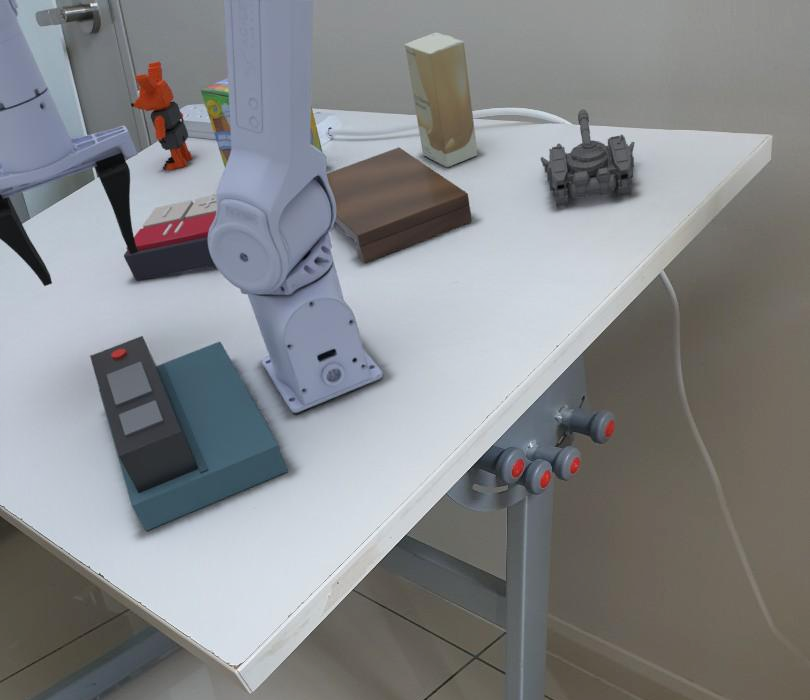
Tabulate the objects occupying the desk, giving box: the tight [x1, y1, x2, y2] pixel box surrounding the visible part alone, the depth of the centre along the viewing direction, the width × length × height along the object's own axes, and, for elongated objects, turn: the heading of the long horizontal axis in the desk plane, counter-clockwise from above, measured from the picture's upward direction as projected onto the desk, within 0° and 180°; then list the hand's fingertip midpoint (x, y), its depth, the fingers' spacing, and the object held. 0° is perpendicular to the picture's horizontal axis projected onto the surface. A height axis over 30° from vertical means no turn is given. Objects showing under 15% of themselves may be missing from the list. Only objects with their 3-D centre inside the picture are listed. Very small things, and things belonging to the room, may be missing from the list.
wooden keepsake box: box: [327, 147, 473, 264], centre depth 92 cm, size 18×12×3 cm, turn 23°
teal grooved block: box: [98, 341, 289, 532], centre depth 69 cm, size 18×11×3 cm, turn 23°
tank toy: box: [540, 109, 635, 207], centre depth 87 cm, size 12×10×5 cm
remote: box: [89, 335, 198, 493], centre depth 66 cm, size 16×4×4 cm, turn 23°
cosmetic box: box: [404, 31, 478, 168], centre depth 98 cm, size 6×4×12 cm
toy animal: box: [130, 61, 193, 171], centre depth 116 cm, size 8×6×12 cm
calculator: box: [123, 194, 217, 281], centre depth 95 cm, size 11×4×15 cm
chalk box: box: [200, 77, 328, 169], centre depth 103 cm, size 9×9×15 cm
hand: (90, 265), depth 75 cm, fingers open, 7 cm apart
